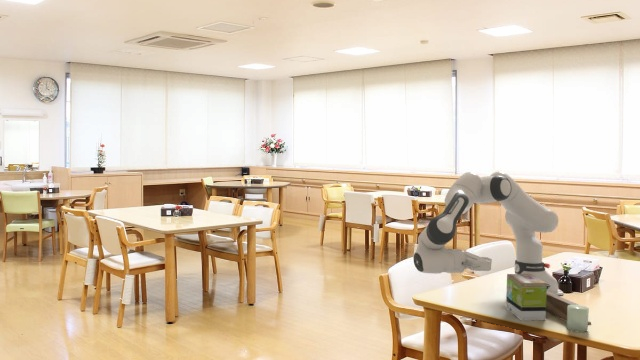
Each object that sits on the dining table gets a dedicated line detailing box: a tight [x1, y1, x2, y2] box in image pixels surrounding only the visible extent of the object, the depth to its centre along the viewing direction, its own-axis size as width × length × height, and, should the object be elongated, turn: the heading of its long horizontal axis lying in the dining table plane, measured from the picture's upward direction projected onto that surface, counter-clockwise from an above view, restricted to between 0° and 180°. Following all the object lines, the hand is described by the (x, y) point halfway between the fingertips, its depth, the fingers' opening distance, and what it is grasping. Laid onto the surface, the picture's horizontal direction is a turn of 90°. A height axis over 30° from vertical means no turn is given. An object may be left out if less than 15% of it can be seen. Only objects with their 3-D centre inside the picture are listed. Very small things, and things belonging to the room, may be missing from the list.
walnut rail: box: [546, 291, 592, 325], centre depth 228 cm, size 7×24×7 cm, turn 13°
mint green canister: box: [566, 304, 590, 333], centre depth 211 cm, size 7×7×8 cm
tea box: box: [505, 273, 547, 321], centre depth 227 cm, size 15×10×15 cm, turn 5°
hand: (489, 260), depth 222 cm, fingers closed
